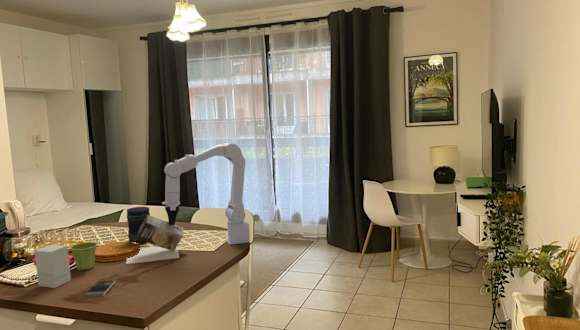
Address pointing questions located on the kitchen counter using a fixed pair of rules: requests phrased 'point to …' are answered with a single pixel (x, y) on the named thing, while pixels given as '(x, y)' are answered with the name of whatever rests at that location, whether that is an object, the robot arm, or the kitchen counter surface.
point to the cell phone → (100, 288)
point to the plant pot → (84, 255)
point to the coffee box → (160, 233)
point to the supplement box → (52, 266)
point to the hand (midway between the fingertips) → (171, 224)
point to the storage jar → (136, 222)
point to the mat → (153, 255)
